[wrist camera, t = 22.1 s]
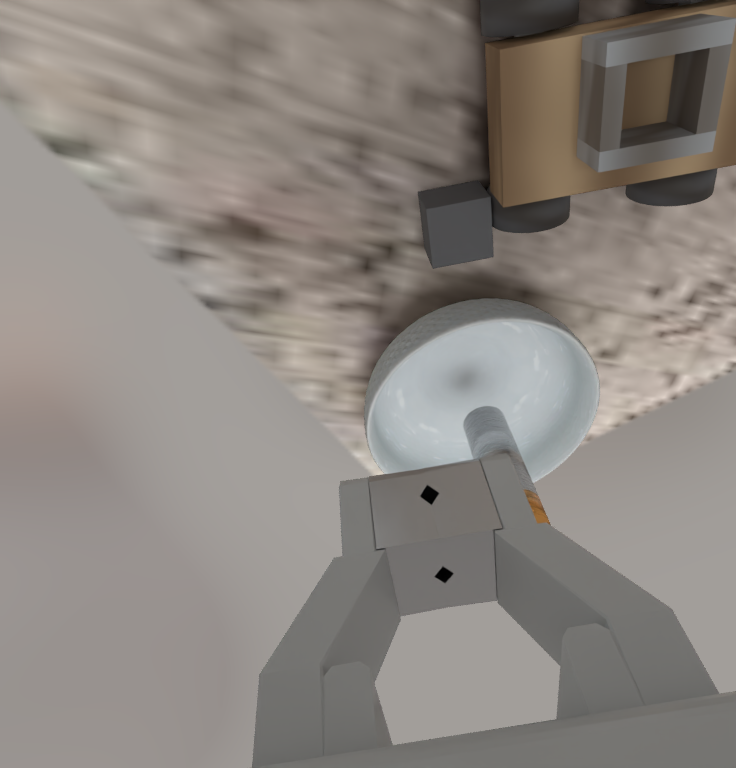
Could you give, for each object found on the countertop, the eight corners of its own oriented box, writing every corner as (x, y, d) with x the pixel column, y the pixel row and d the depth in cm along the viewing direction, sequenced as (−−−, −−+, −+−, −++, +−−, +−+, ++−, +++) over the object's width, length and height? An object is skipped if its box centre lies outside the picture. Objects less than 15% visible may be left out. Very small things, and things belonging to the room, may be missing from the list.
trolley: (724, -60, 32) (846, -67, 25) (687, 172, 39) (772, 220, 32) (470, -11, 32) (516, -3, 25) (480, 210, 40) (518, 266, 32)
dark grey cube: (477, 179, 39) (490, 196, 36) (480, 236, 41) (493, 257, 38) (417, 191, 39) (426, 209, 36) (424, 247, 41) (432, 268, 38)
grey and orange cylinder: (505, 403, 41) (552, 511, 33) (505, 435, 42) (550, 546, 34) (462, 409, 41) (498, 519, 33) (464, 441, 42) (499, 553, 34)
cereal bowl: (441, 473, 54) (456, 534, 48) (315, 366, 46) (315, 423, 40) (603, 367, 48) (643, 421, 43) (492, 224, 40) (522, 267, 35)
